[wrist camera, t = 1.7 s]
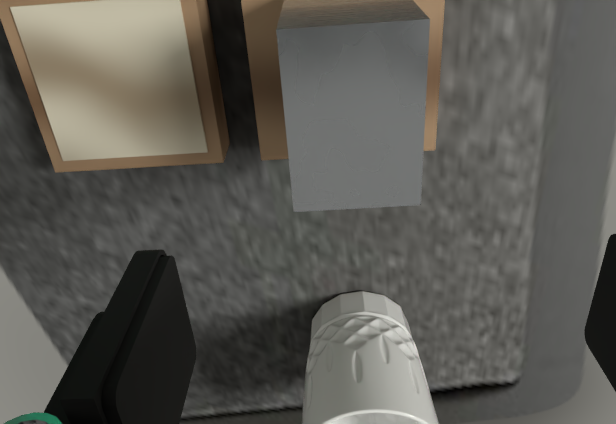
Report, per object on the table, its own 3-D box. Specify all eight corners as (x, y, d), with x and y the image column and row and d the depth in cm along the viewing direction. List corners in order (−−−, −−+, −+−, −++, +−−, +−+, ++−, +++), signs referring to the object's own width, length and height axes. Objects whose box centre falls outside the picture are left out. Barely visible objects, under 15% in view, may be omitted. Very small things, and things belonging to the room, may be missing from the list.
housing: (285, -7, 23) (275, 29, 17) (399, -15, 23) (429, 18, 17) (298, 140, 27) (293, 211, 21) (396, 134, 27) (420, 205, 21)
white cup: (345, 380, 40) (354, 514, 31) (279, 318, 37) (269, 449, 28) (436, 334, 37) (472, 466, 29) (374, 263, 34) (394, 389, 25)
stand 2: (243, -35, 25) (237, -28, 23) (435, -49, 24) (447, -44, 22) (265, 140, 30) (261, 160, 27) (426, 131, 29) (435, 150, 27)
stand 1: (17, -18, 25) (-12, -9, 23) (202, -32, 25) (191, -24, 23) (73, 152, 30) (54, 173, 28) (229, 143, 30) (222, 163, 27)
